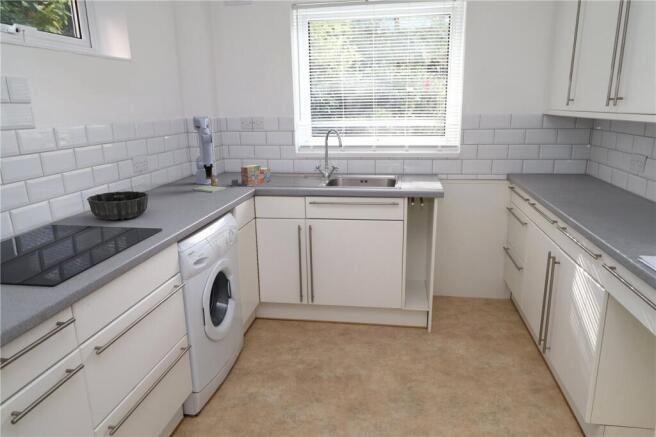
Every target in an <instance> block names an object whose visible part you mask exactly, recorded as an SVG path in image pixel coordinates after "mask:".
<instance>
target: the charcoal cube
mask: <svg viewBox="0 0 656 437" xmlns="http://www.w3.org/2000/svg"><path fill="white" fill-rule="evenodd" d="M230 181H231V186H232V187H239V180H238V178H237V179H234V178H233V179H231V180H230Z"/></svg>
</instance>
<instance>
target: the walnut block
mask: <svg viewBox="0 0 656 437" xmlns="http://www.w3.org/2000/svg"><path fill="white" fill-rule="evenodd" d="M205 173H206V170H205ZM206 179H214V178H213V170H212V171H211V177H207V174H206Z"/></svg>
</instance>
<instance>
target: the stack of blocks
mask: <svg viewBox="0 0 656 437" xmlns="http://www.w3.org/2000/svg"><path fill="white" fill-rule="evenodd" d="M240 176H241V185H243V186H247V185H249V186H254V185H258V183H259V184H264V183H267V181H268V182H271V168H270V167H261V164H248V165H243V166H240ZM263 182H264V183H263Z"/></svg>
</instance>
